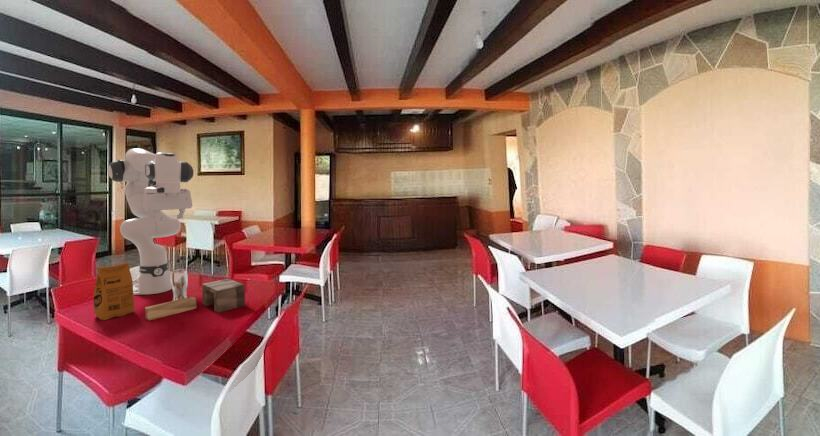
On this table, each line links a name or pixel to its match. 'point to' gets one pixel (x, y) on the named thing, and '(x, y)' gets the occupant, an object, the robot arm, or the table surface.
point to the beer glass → (179, 283)
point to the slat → (170, 308)
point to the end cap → (223, 294)
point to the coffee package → (113, 292)
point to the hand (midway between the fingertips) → (170, 219)
